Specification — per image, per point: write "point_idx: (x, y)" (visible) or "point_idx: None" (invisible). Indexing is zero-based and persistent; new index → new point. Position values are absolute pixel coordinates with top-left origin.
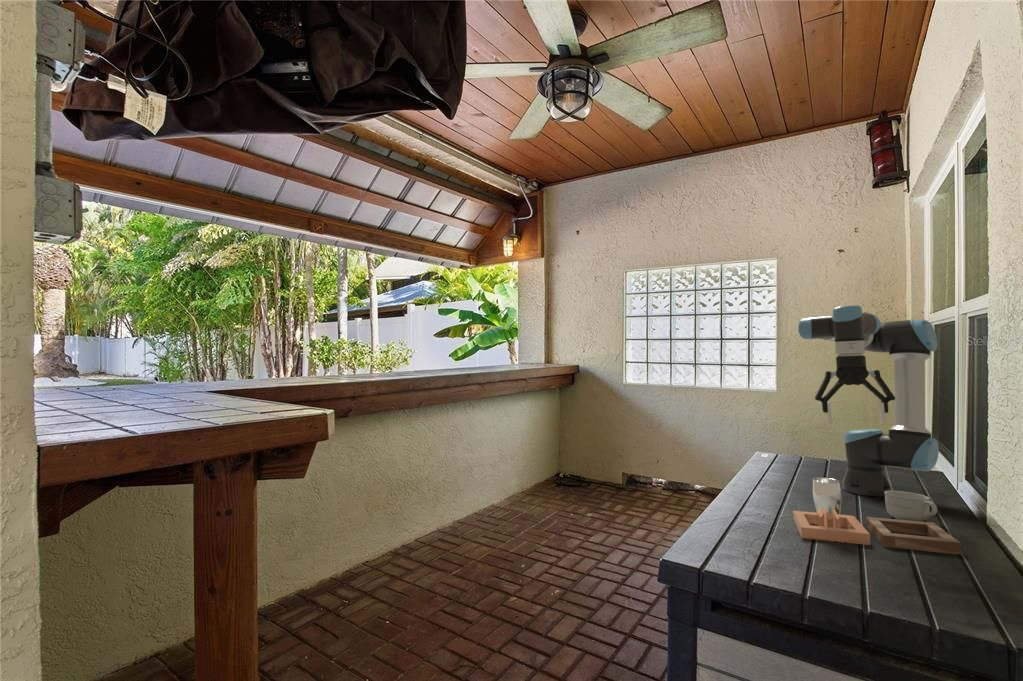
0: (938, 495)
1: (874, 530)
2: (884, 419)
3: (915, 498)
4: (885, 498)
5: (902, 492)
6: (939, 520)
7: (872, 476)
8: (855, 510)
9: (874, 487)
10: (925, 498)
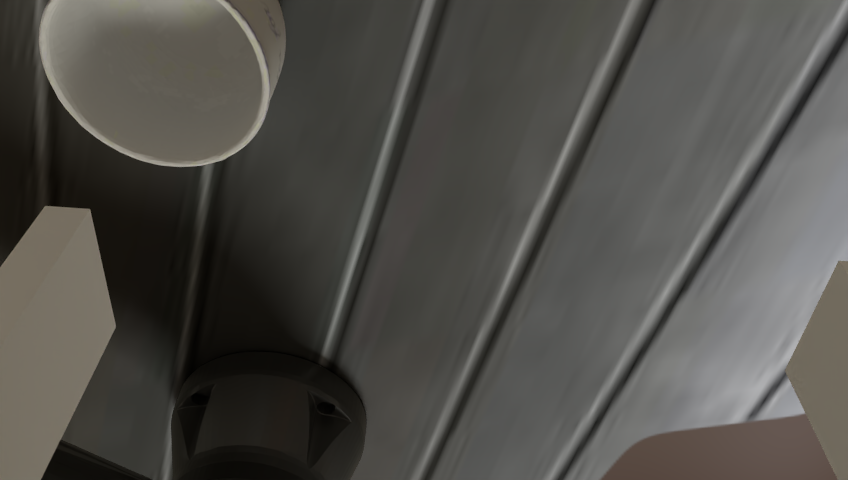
0: None
1: None
2: (17, 257)
3: (112, 118)
4: (275, 70)
5: (163, 157)
6: None
7: (241, 437)
8: (415, 122)
9: (250, 385)
10: (62, 73)
